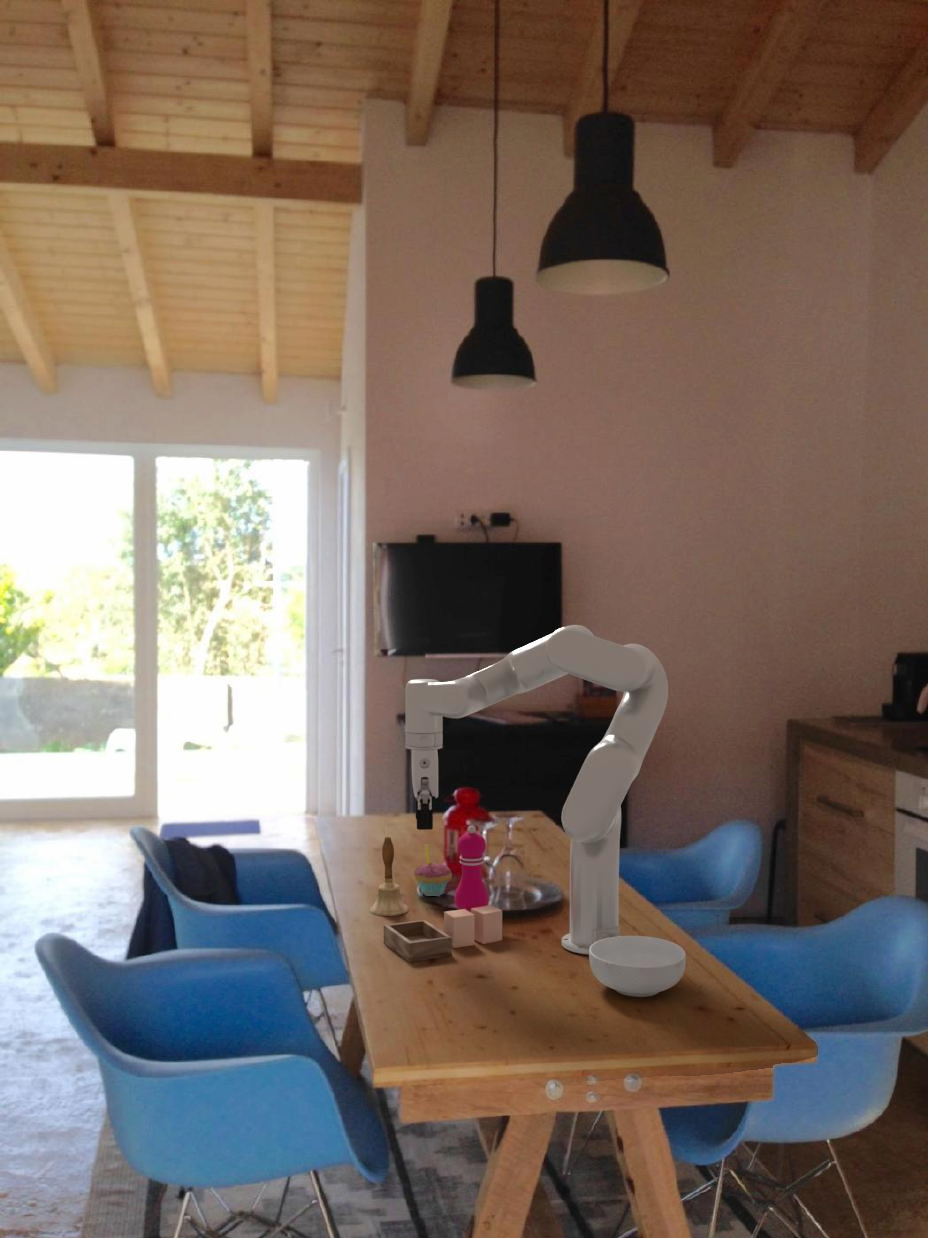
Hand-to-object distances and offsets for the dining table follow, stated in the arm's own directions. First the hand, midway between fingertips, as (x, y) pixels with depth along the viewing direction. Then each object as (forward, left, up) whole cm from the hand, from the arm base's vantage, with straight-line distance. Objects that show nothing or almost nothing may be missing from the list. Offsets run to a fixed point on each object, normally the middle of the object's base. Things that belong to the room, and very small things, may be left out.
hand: (424, 824), depth 243 cm
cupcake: (+25, -13, -22) cm, 36 cm away
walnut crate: (-10, +6, -22) cm, 25 cm away
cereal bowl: (-47, -20, -22) cm, 56 cm away
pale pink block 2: (-10, -9, -22) cm, 26 cm away
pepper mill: (+3, -12, -22) cm, 25 cm away
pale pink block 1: (-10, -3, -22) cm, 25 cm away
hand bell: (+17, +1, -22) cm, 28 cm away
